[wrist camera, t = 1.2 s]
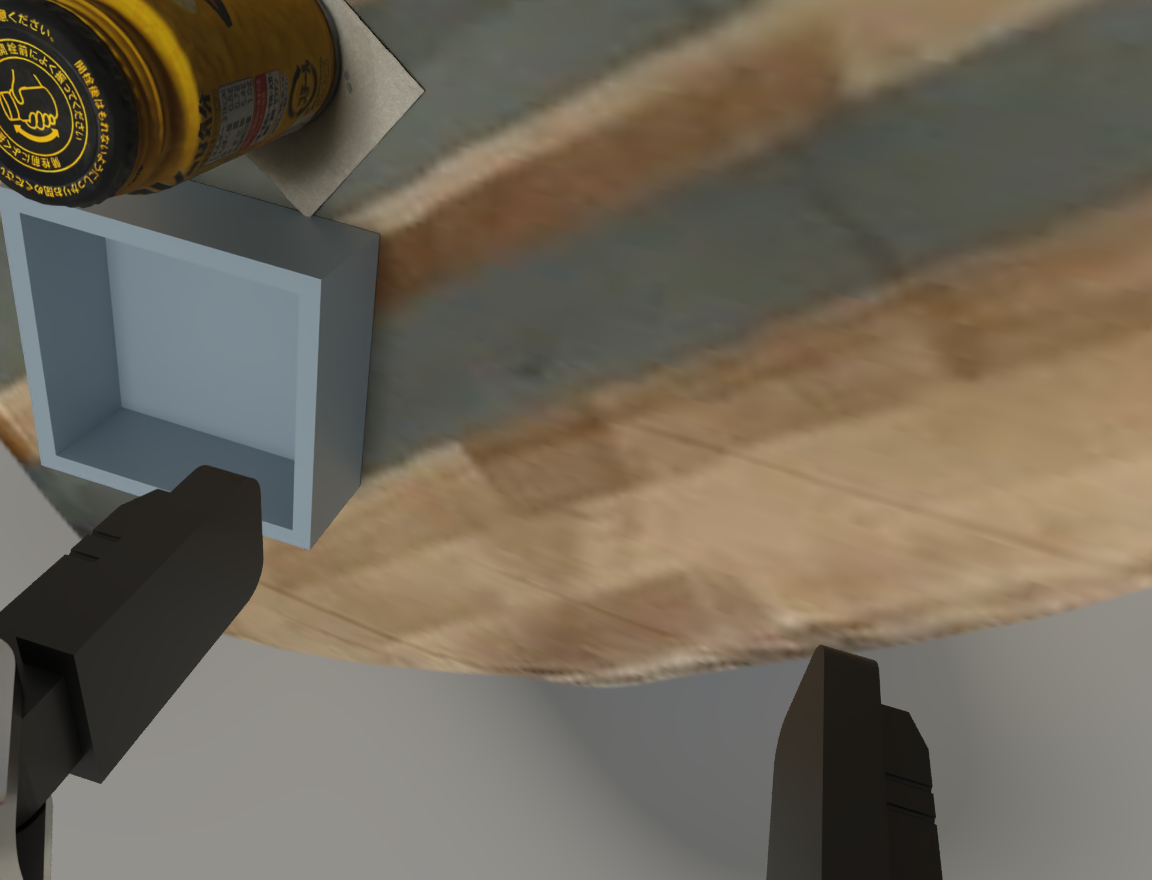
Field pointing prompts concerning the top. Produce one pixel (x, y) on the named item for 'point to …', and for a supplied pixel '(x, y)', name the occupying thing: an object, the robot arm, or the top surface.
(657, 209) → the top surface
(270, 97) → the condiment
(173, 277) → the bin
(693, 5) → the top surface
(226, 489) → the robot arm
